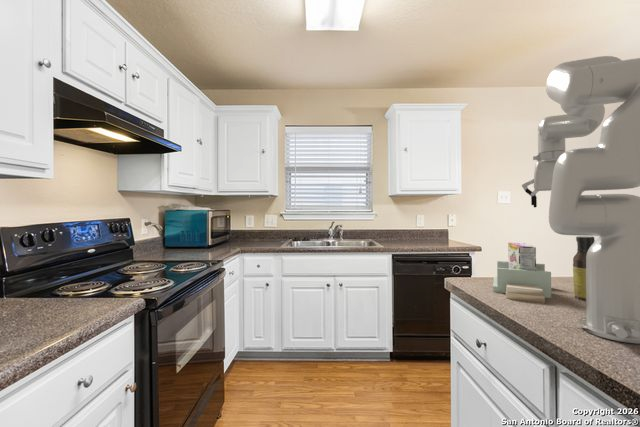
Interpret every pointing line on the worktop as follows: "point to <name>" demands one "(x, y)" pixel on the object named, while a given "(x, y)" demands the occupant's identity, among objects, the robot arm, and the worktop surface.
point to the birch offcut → (525, 297)
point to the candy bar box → (522, 256)
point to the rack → (522, 278)
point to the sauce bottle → (581, 266)
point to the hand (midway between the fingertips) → (552, 207)
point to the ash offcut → (524, 289)
